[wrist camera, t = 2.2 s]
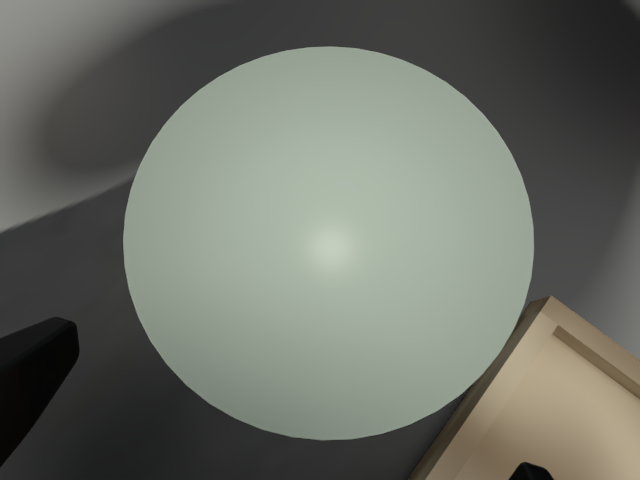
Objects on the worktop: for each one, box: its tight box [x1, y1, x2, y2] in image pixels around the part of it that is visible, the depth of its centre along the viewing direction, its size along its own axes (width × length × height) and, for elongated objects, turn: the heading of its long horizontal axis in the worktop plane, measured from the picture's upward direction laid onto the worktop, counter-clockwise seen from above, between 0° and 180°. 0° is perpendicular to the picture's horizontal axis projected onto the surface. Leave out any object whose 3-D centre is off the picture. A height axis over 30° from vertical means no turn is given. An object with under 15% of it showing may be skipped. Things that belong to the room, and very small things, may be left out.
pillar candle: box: [123, 47, 534, 440], centre depth 13 cm, size 6×6×13 cm
